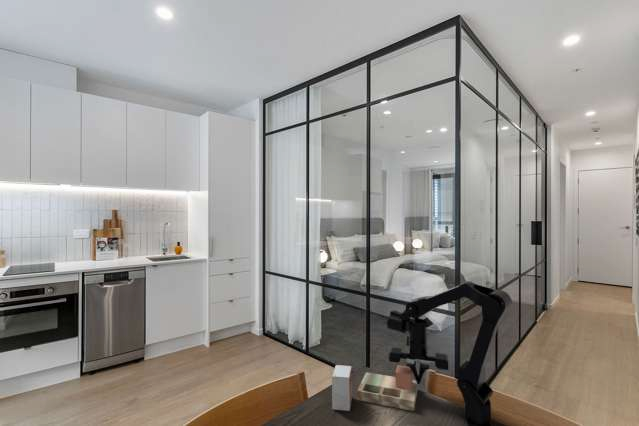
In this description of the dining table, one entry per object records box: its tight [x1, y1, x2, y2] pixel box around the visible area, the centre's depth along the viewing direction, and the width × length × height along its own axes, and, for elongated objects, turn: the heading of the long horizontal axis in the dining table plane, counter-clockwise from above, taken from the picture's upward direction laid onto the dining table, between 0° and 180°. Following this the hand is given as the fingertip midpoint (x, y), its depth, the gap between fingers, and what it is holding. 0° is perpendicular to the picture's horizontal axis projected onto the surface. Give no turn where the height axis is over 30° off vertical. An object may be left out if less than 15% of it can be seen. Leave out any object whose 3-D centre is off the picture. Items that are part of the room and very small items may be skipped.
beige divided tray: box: [356, 372, 418, 412], centre depth 109 cm, size 18×13×3 cm
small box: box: [331, 364, 353, 412], centre depth 104 cm, size 8×6×10 cm
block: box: [395, 365, 414, 390], centre depth 109 cm, size 5×5×5 cm
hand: (418, 383), depth 108 cm, fingers closed
